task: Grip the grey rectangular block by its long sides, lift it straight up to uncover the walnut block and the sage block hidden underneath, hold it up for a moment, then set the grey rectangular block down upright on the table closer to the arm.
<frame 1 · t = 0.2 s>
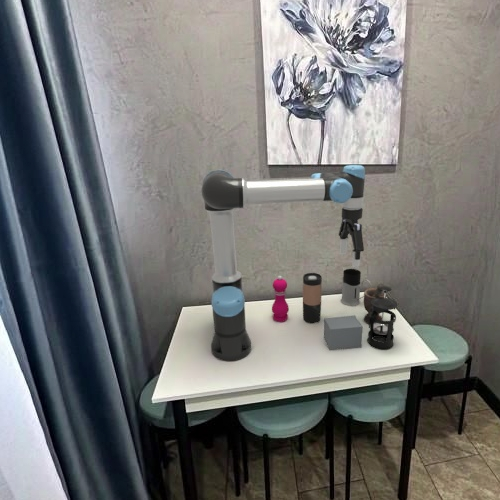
hand: (349, 260, 140), 27 cm above the table, tool pointing down, fingers open, 13 cm apart
french press: (379, 342, 135), on the table
pepper mill: (280, 318, 154), on the table
sage block: (348, 342, 135), on the table
grey rectangular block: (342, 342, 135), on the table
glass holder: (355, 304, 163), on the table
mortar and pestle: (375, 323, 147), on the table
travel mug: (311, 319, 152), on the table
walnut block: (335, 343, 135), on the table
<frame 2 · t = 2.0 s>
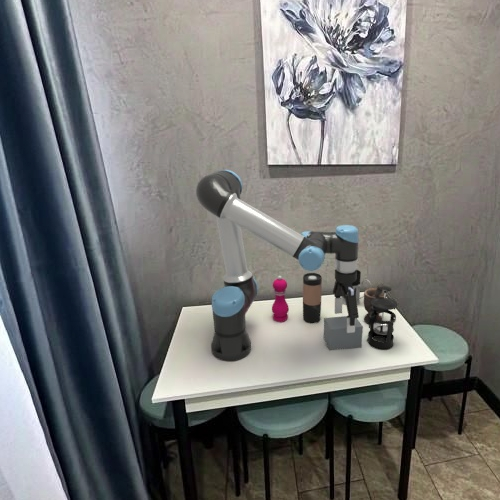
hand: (344, 322, 132), 9 cm above the table, tool pointing down, fingers open, 13 cm apart
nothing on the table moved.
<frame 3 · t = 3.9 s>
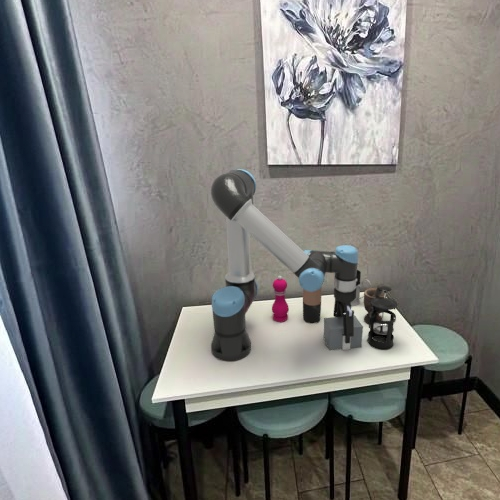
hand: (342, 342, 135), 0 cm above the table, tool pointing down, fingers closed on grey rectangular block, 8 cm apart
grey rectangular block: (342, 342, 135), on the table, touching gripper
everything else where it was.
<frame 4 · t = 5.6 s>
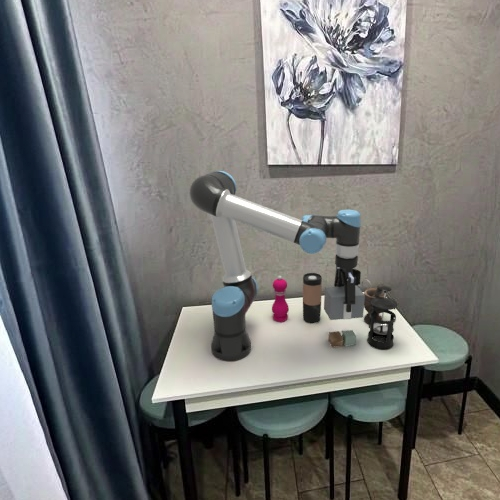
hand: (342, 312, 131), 13 cm above the table, tool pointing down, fingers closed on grey rectangular block, 8 cm apart
grey rectangular block: (342, 313, 131), point 13 cm above the table, touching gripper
everything else where it was.
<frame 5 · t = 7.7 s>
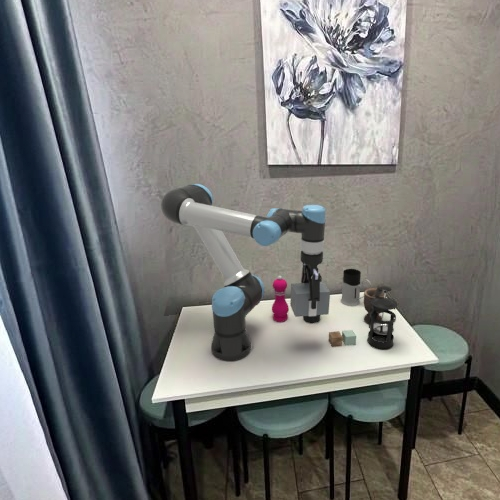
hand: (308, 309, 129), 16 cm above the table, tool pointing down, fingers closed on grey rectangular block, 8 cm apart
grey rectangular block: (308, 309, 129), point 15 cm above the table, touching gripper
everything else where it was.
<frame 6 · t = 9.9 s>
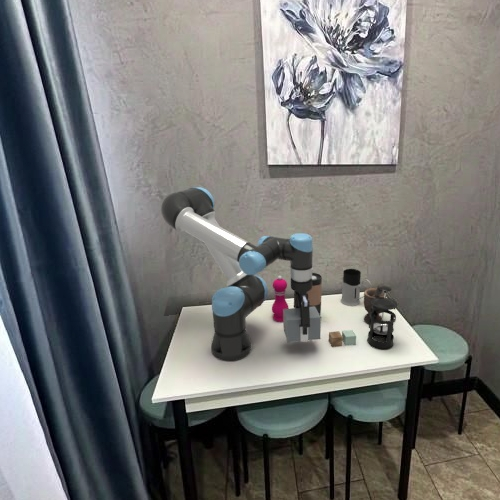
hand: (301, 334, 131), 6 cm above the table, tool pointing down, fingers closed on grey rectangular block, 8 cm apart
grey rectangular block: (301, 334, 131), point 6 cm above the table, touching gripper
everything else where it was.
when the fingers open (2 cm above the table, at t = 11.6 s): grey rectangular block drops 2 cm, on the table.
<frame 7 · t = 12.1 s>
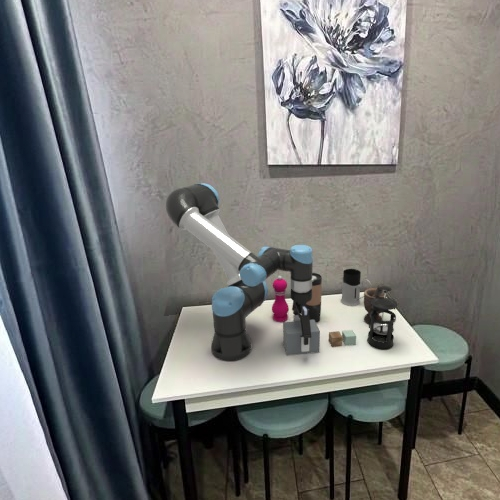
hand: (300, 340, 132), 3 cm above the table, tool pointing down, fingers open, 13 cm apart
grey rectangular block: (300, 347, 133), on the table
everything else where it was.
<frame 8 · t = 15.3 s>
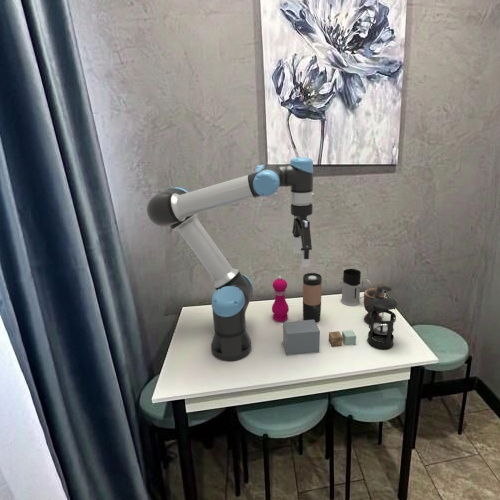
hand: (301, 259, 131), 32 cm above the table, tool pointing down, fingers open, 13 cm apart
nothing on the table moved.
at the end: grey rectangular block inside the target area (0.0 cm from its centre), on the table; grey rectangular block tilted 0°; the gripper is holding nothing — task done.
